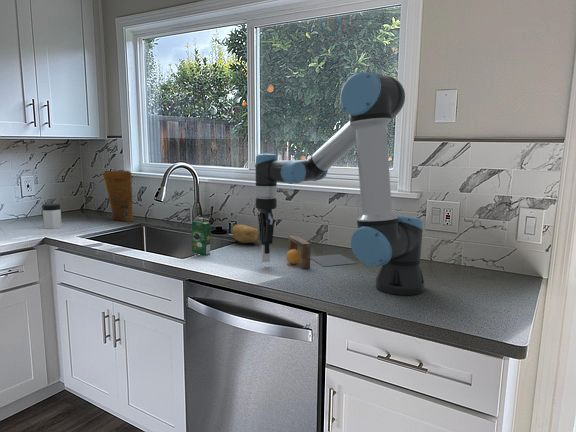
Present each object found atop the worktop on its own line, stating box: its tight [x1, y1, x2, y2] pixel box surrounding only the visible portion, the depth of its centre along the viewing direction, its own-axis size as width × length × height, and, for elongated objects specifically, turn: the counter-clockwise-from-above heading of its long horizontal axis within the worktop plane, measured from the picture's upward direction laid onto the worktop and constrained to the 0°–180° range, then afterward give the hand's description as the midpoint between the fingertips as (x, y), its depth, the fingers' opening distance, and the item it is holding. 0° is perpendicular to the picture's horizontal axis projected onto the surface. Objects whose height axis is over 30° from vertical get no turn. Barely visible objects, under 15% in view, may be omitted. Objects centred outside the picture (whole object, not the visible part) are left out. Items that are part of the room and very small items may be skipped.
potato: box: [231, 224, 259, 244], centre depth 200 cm, size 10×14×8 cm
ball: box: [285, 249, 301, 265], centre depth 167 cm, size 6×6×6 cm
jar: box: [41, 202, 63, 230], centre depth 228 cm, size 9×8×12 cm
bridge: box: [287, 234, 312, 270], centre depth 167 cm, size 3×14×9 cm, turn 21°
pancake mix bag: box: [102, 170, 134, 223], centre depth 249 cm, size 7×19×28 cm, turn 64°
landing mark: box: [310, 253, 358, 268], centre depth 173 cm, size 14×14×1 cm
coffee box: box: [191, 220, 211, 256], centre depth 180 cm, size 8×3×13 cm, turn 57°
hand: (265, 261), depth 163 cm, fingers closed
